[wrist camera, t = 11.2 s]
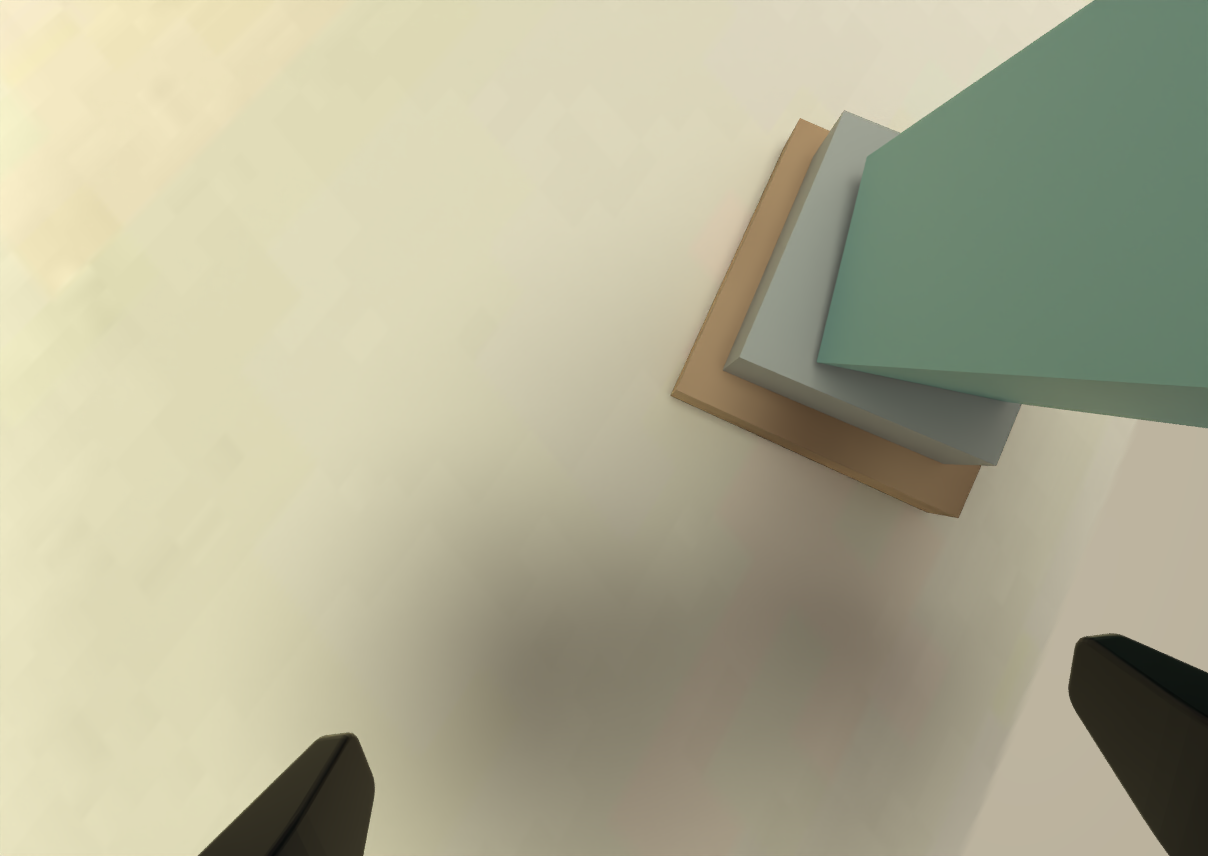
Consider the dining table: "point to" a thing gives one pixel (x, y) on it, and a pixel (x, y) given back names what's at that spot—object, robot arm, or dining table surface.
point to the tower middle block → (799, 313)
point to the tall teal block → (1046, 227)
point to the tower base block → (780, 415)
